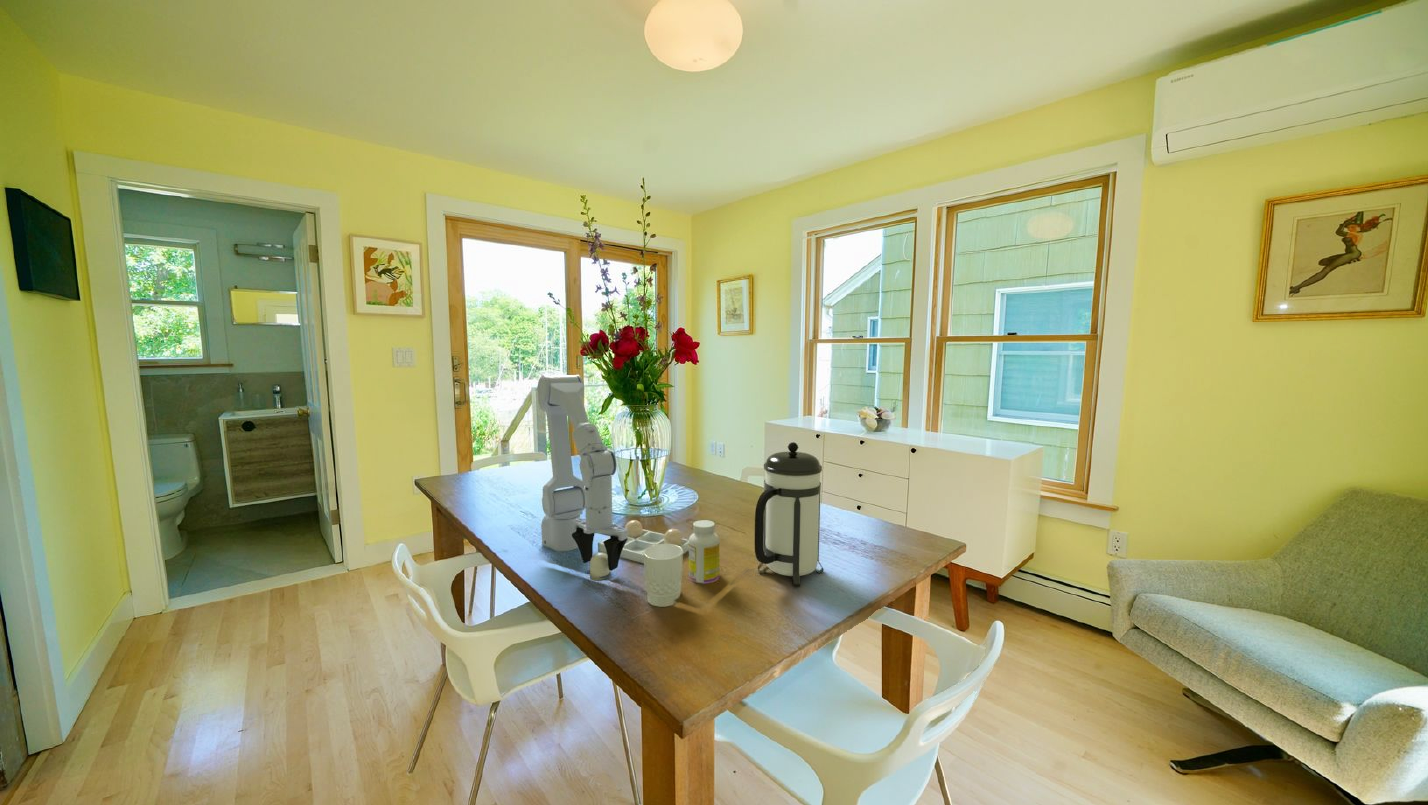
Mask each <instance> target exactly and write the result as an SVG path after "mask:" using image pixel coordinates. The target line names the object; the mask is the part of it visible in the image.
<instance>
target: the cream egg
mask: <svg viewBox="0 0 1428 805" xmlns="http://www.w3.org/2000/svg"><path fill="white" fill-rule="evenodd" d="M610 573H611V571H610V570H609V568H608V556H607V553H604V552H600V551H598V552H597V553H594V554H593V555H592V558H591V560H590V561H589V578H590V580H591V581H595V582H601V581H607V579H606V578H603V577H605V576H607V575H609V574H610Z"/></svg>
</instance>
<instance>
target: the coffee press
mask: <svg viewBox="0 0 1428 805" xmlns="http://www.w3.org/2000/svg"><path fill="white" fill-rule="evenodd" d="M787 449H788V451H780V452H776V453H773V454H771V455H769V456H768V457H767V459H766V461H765V463H764V464H763V470H764V471H765V474H764V476H765V479H764V481H763V482H764V483H763V484H764V485H763V486H764V488H763V491H762V493H761V495H760V496H759V497H758V500H757V502H756V504H755V505H756V506H755V512H754V554H755V555H754V556H755V557H756V560H757V561H758V562H759V564H758V566H757V571H758V573H759V574H765V573H766V571H768V570H770V571H772V572H774V573H776V574H778V575H782V576H787V577H791V582H792V587H798V588H799V587H800V586H801V583H800V582H801V581H800V576H806V575H809V574H811V573H813V572H814V571H816V572H817V573H818V574H822V573H824V568H823V566H822V564H821V563H820V558H819V557H820V554H819V553H820V552H819V551H820V524H821V523H820V522H821V519H820V518H821V489H822V486H821V484H822V483H821V473H822V472H823V466H822V465H821V463H820V460H819V459H818V458H817V457H816V456H814V455H812V454H809V453H806V452H803V451H802V452H801V451H798V449H799V445H798V444H797V443H796V442H794V441H792V442H790V443H789V444H788V446H787ZM818 564H819V565H820V567H821V569H820V570H819V569H817V567H818ZM763 565H765V567H764V568H763V569H762V570H760V569H761V567H763Z"/></svg>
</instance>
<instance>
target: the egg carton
mask: <svg viewBox="0 0 1428 805" xmlns="http://www.w3.org/2000/svg"><path fill="white" fill-rule="evenodd" d="M664 535H665V533H662V532H661V533H660V532H656V531H652V530H648V529H643V528H642V536H640V537H638V538H636V539H634V538H630V537H628V540H627V541H626V543H625V545H624V547H623V549H622V552H621V555H620V558H622V559H626V560H630V561H633V562H637V563H641V564H644V553H643V552H644V550H645V549H646V548H648V547H650V546H653V545H657V544H664ZM609 538H610V536H608V538H607V537H606V538H605V539H604V540H601V541H599V542H597V551H598V552H602V553H605V554H607V551H606V548H605V545H604V543H603V541H605V540H607V539H609ZM680 547H681V548H682V549H683V555H684V554H686V553H688V552H689V539H687V538H683V537H682V545H681V546H680Z"/></svg>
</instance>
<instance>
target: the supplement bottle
mask: <svg viewBox="0 0 1428 805" xmlns="http://www.w3.org/2000/svg"><path fill="white" fill-rule="evenodd" d="M692 524H693V526H692V527H693V528H692V530H693V533H692V534H690V536H689V538H688V540H689V551H688V577H689V579H690V580H691V581H692V582H694V583H699V584H710V583H714V582H716V581H718V580H719V578H720V537H719V536H718V534H717V533H716V532H715V530H716V527H715V526H716V524H715V522H714V521H712V520H707V519H705V520H704V519H703V520H696V521H694V522H693V523H692Z"/></svg>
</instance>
